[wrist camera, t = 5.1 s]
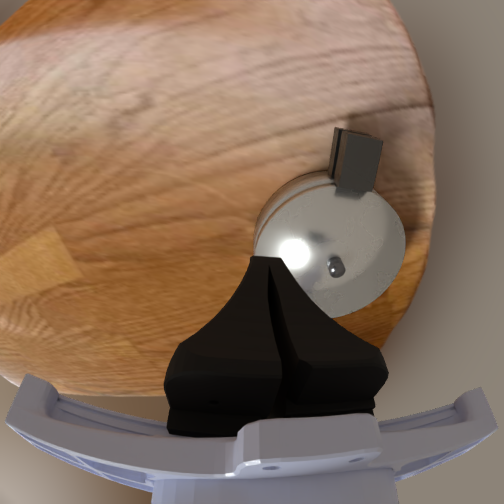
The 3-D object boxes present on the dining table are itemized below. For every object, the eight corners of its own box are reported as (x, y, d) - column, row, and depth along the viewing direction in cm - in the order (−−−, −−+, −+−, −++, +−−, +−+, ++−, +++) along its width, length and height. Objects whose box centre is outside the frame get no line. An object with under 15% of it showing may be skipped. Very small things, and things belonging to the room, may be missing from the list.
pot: (362, 306, 28) (371, 328, 25) (247, 302, 27) (247, 326, 24) (411, 143, 19) (433, 153, 16) (264, 116, 18) (266, 120, 15)
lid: (374, 312, 25) (380, 326, 23) (248, 310, 24) (248, 325, 23) (431, 152, 16) (444, 159, 15) (266, 120, 16) (267, 123, 14)
